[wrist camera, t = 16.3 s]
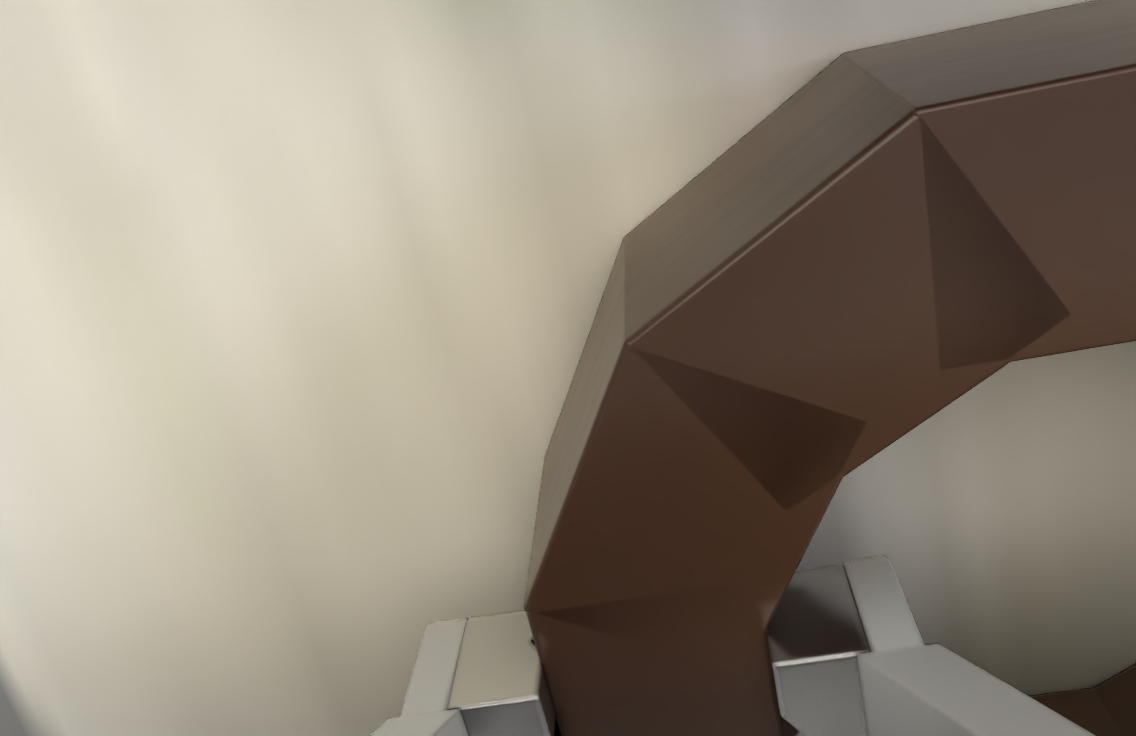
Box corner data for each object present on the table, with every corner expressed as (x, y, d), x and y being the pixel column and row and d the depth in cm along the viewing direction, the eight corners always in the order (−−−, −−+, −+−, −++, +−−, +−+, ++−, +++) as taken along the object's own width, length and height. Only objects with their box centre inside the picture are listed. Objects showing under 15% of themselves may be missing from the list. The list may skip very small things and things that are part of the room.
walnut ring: (1453, 770, 15) (1654, 983, 12) (647, 862, 16) (652, 1070, 14) (1595, -105, 10) (1973, -103, 7) (462, 132, 12) (409, 209, 9)
